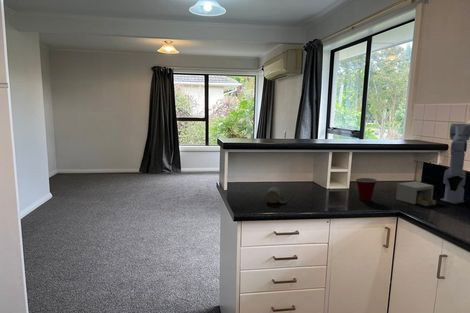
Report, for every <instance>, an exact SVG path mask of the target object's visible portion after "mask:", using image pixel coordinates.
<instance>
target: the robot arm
mask: <svg viewBox="0 0 470 313" xmlns="http://www.w3.org/2000/svg"><path fill="white" fill-rule="evenodd" d="M449 126H450V127H449V139H450V140H452V142H451V143H450V159H449V166H448V167H449V168H447V169H446V170H445V171H444V175H443V182H442V183H443V184H445V188H444V189H445V191H444V196H443V198H440V201H443V202H447V203H451V204H459V203H464V202H465V200H464V198H465V197H464V196H465V188H464V186H465V184H466V177H467V176H466V175H467V173H466V171H465V170H464V163H465V157H466V156H465V154H466V152H467V148H468V141H469V140H470V123H453V122H452V123H450V125H449Z"/></svg>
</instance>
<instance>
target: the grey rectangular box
mask: <svg viewBox="0 0 470 313" xmlns="http://www.w3.org/2000/svg"><path fill="white" fill-rule="evenodd" d="M434 187H435V186H434V185H433V184H429V183H424V182H419V181H409V182H408V181H407V182H398V183H397V185H396V197H395V200H398V201H400V202H401V201H402V202H405V203H409V204H412V205H416V204H417V203H416V195H417V191H423V192H427V193H429V197H428V198H429V199H432V200H433V197H434Z"/></svg>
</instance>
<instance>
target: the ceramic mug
mask: <svg viewBox="0 0 470 313" xmlns="http://www.w3.org/2000/svg"><path fill="white" fill-rule="evenodd" d="M265 199H266V201H267V202H268V203H270V204H272V203H274V204H277V203H280V204H282V205H285V204H286V203H287V199H286V198H285V197H284V196H283V191H282V189H281V188H279V187H278V186H271V187H269V189H268V190H267V192H266V195H265ZM284 203H285V204H284Z"/></svg>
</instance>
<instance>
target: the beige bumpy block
mask: <svg viewBox="0 0 470 313" xmlns="http://www.w3.org/2000/svg"><path fill="white" fill-rule="evenodd" d="M428 197H429V193H427V192H423V191H417V195H416V204H419V205H421V206H425V207H428V206H432V205H433V206H435V205H437V204H436V203H437V200H435V199H433V198H432V199H429V198H428Z"/></svg>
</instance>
